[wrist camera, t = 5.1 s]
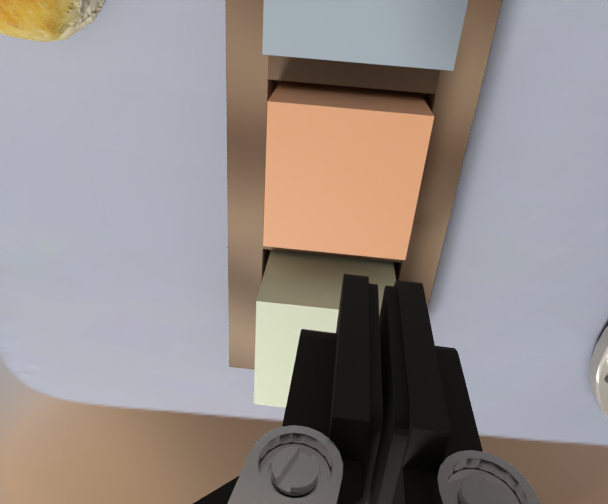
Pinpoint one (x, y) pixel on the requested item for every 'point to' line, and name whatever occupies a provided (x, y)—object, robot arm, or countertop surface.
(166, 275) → the countertop surface
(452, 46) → the slate button
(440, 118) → the wooden tray
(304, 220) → the orange block
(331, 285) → the sage button
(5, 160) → the countertop surface
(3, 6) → the bread roll
